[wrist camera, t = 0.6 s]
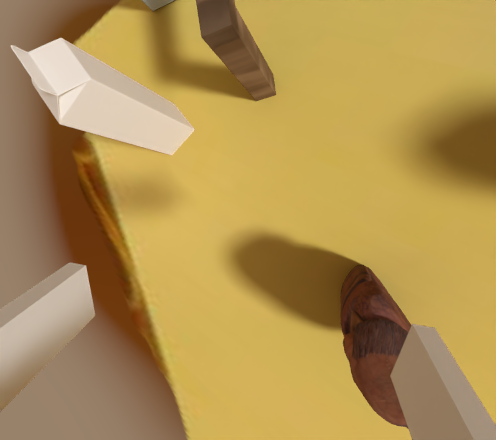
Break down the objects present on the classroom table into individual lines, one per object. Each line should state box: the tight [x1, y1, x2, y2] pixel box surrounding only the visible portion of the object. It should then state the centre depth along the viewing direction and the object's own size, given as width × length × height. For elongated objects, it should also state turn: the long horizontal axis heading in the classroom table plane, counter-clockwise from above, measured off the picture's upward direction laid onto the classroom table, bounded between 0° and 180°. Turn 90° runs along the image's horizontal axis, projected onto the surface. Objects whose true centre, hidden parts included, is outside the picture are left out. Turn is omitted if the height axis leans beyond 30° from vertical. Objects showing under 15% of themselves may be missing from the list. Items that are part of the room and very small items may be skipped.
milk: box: [11, 38, 195, 155], centre depth 34 cm, size 6×6×22 cm
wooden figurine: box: [341, 265, 411, 428], centre depth 27 cm, size 12×6×18 cm, turn 34°
